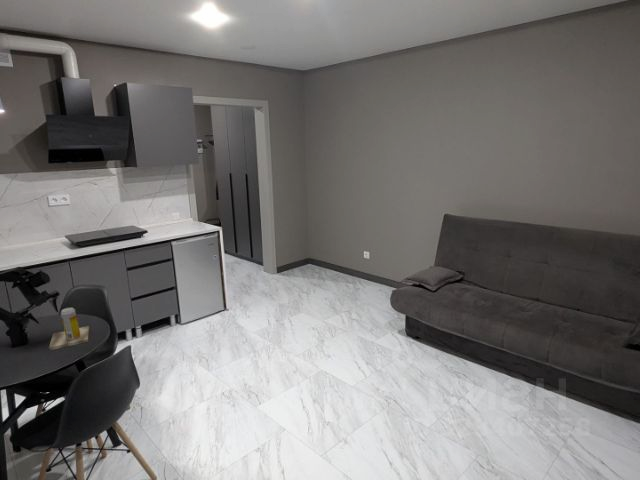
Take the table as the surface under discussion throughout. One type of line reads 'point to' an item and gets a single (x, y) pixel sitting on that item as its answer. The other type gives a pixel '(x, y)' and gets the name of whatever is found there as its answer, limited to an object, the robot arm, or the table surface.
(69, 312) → the beer can
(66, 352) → the table surface
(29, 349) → the table surface
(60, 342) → the birch board
